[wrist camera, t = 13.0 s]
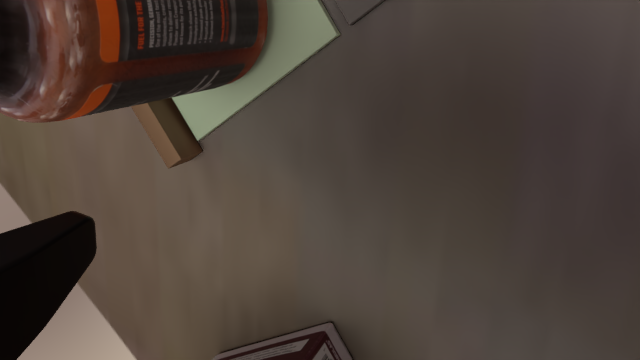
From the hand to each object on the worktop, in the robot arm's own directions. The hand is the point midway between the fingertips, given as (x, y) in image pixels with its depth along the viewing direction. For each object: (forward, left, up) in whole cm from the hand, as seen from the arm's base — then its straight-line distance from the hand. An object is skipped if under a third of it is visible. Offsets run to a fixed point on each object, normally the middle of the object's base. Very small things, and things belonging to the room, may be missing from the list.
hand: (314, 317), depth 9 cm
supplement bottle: (+11, -2, -10) cm, 15 cm away
